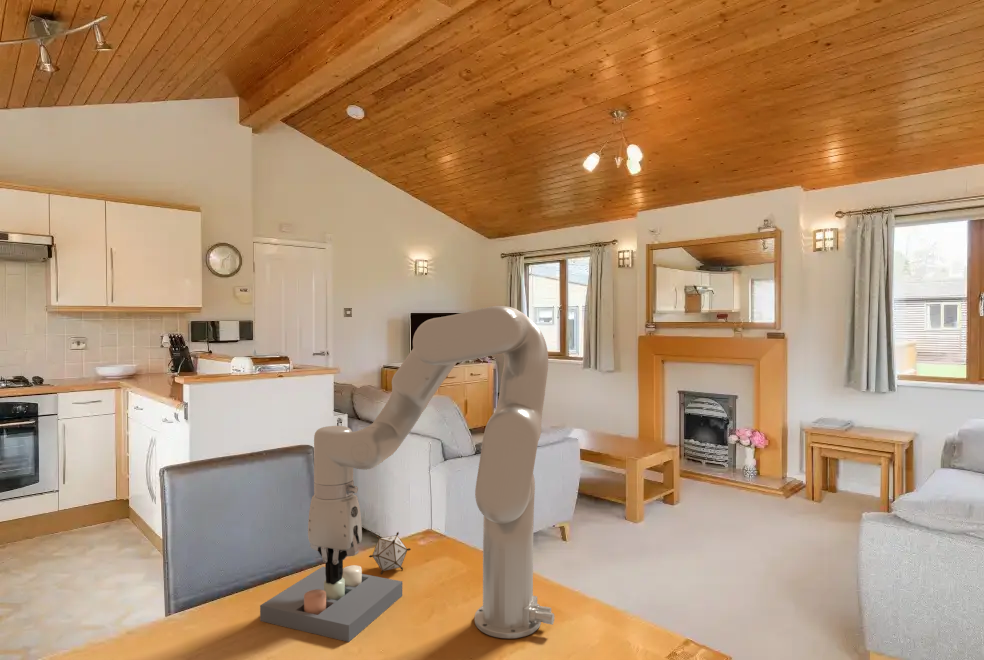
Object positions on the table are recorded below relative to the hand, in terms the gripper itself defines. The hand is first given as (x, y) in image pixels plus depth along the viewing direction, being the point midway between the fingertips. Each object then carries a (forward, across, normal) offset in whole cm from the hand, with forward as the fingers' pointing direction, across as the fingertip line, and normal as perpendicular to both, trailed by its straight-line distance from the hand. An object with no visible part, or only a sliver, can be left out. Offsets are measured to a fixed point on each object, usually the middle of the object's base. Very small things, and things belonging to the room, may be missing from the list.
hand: (334, 580), depth 119 cm
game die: (+6, -1, -20) cm, 20 cm away
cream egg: (+5, 0, -6) cm, 8 cm away
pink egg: (+5, 0, +6) cm, 8 cm away
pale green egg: (+5, 0, 0) cm, 5 cm away
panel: (+5, 0, 0) cm, 5 cm away
